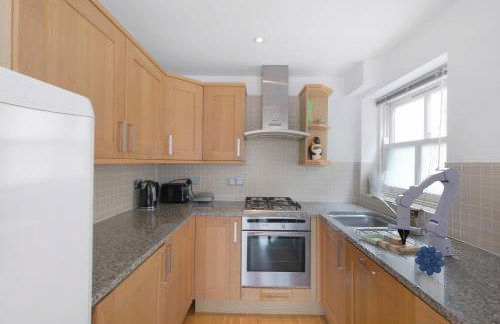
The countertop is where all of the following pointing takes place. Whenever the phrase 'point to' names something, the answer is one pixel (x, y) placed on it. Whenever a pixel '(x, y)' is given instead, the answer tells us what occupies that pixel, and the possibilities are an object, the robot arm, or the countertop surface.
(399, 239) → the terracotta tile
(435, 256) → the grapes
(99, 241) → the countertop surface
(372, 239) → the tray
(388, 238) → the slate tile
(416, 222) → the coffee box
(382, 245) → the birch board
